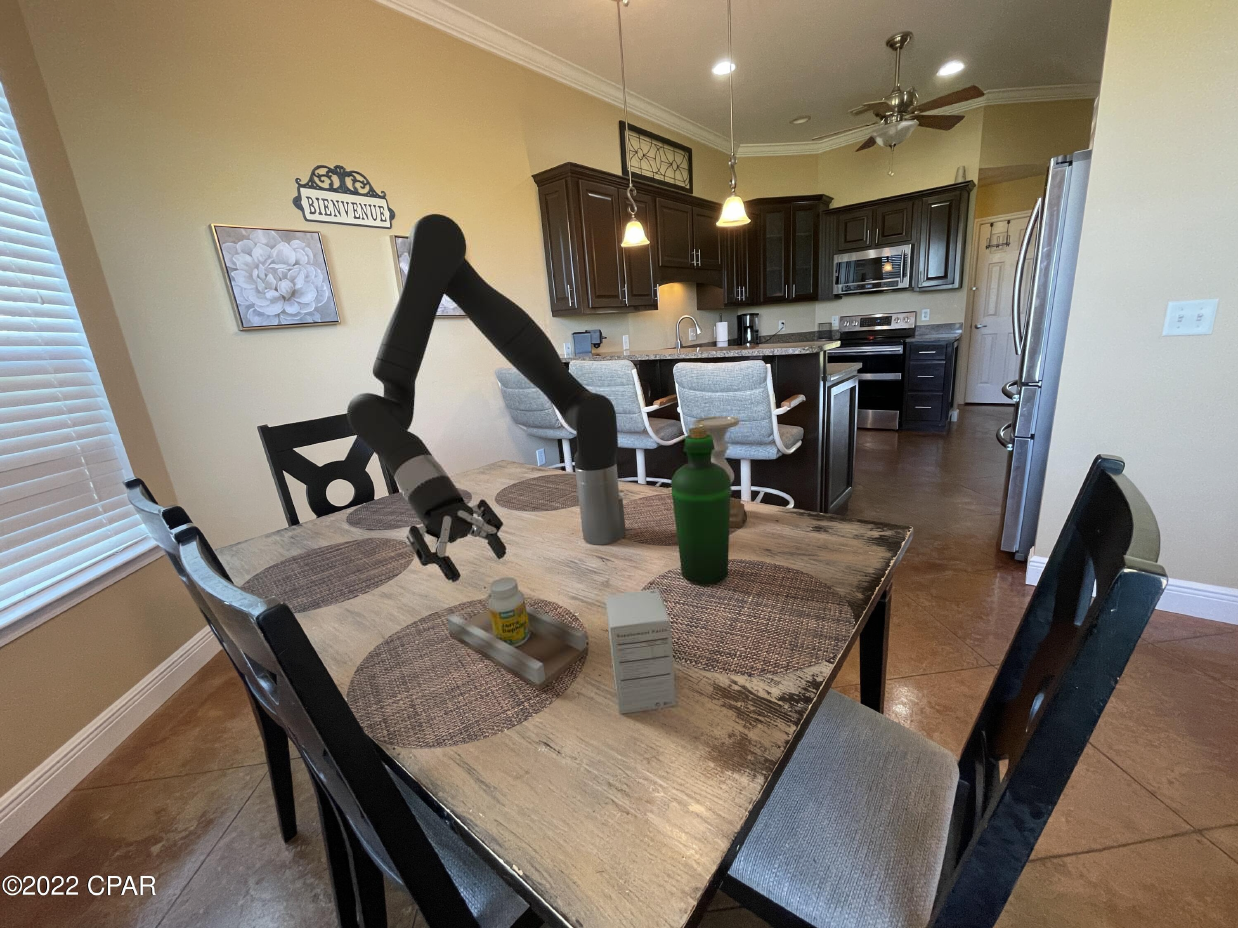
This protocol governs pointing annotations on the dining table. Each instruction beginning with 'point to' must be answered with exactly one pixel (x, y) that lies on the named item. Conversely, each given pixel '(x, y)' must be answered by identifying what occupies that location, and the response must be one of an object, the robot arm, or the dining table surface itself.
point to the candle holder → (723, 458)
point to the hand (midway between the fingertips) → (481, 567)
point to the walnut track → (524, 645)
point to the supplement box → (641, 650)
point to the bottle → (702, 511)
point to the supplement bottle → (508, 612)
